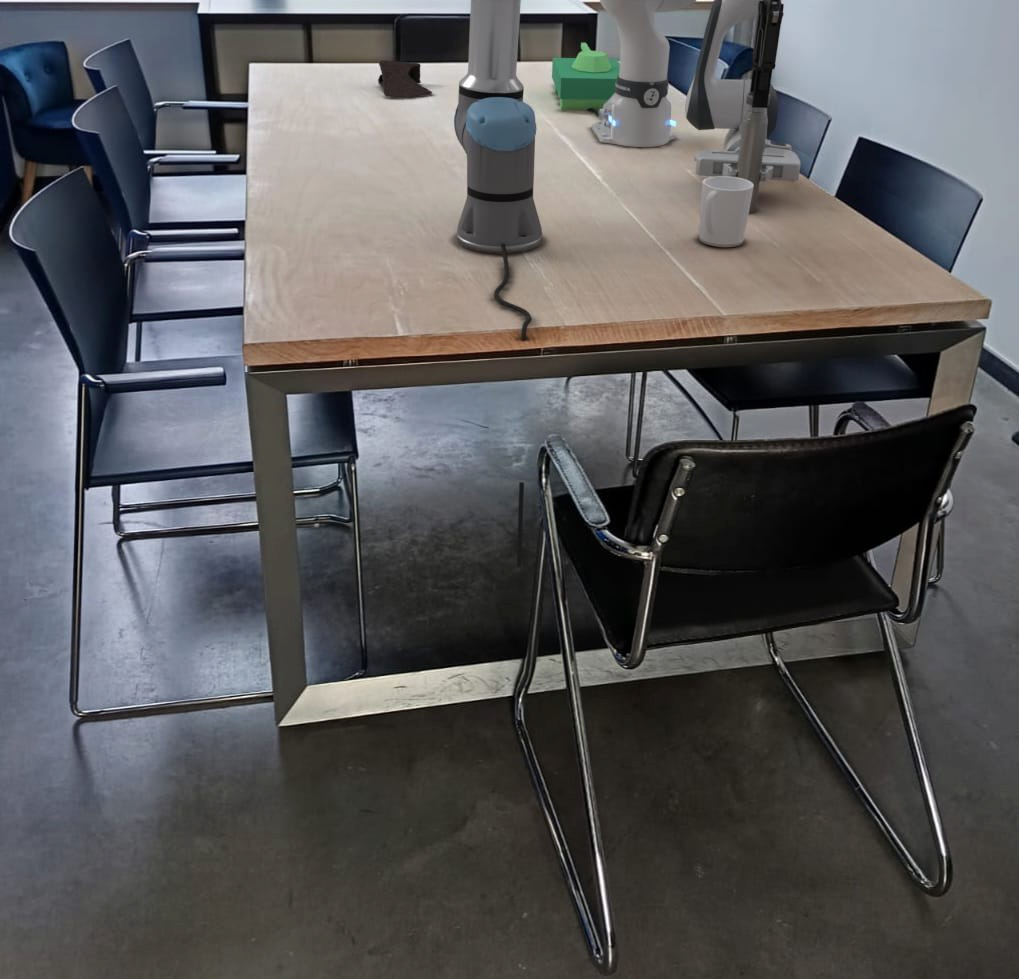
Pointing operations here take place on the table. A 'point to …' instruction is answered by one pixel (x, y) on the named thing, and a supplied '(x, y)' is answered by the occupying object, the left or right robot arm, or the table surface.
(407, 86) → the axe head
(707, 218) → the mug
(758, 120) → the bottle
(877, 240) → the table surface
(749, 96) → the cap
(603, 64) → the toy tank
